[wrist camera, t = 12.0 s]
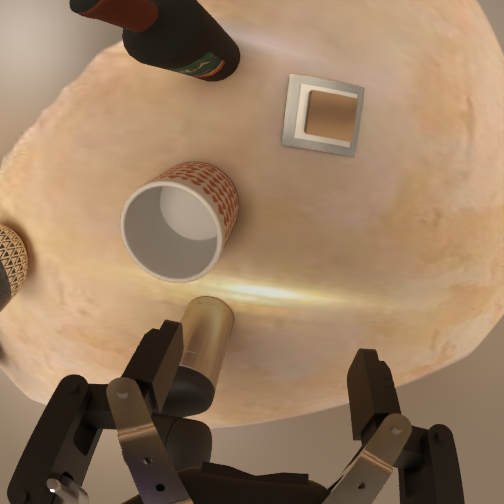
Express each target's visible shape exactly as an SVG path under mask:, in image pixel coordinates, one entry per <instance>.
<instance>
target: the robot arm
mask: <svg viewBox="0 0 504 504" xmlns="http://www.w3.org/2000/svg"><path fill="white" fill-rule="evenodd" d="M233 320H234V318H233V313H232V311H231V310H230V308H229V307H228V306H227V305H226V304H225V303H224V302H222V301H220V300H218V299H216V298H212V297H199V298H196V299H194V300H193V301H192V302H191V303H190V304H189V306H188V308H187V310H186V312H185V314H184V316H183V318H182V320H181V322H175V321H170V320H165V321H164V322H163V324H162V326H161V328H160V330H158V329H154V328H153V329H151V330H150V331H149V332H147V333H146V334H145V335H144V337H143V338H142V340H141V342H140V345H138V347H137V349H136V351H135V353H134V354H133V356H132V358H131V360H130V362H129V364H128V365H127V367H126V369H125V371H124V373H123V374H122V376H121V377H120V378H116V379H114V380H112V381H111V382H110V383H109V384H88V383H87V381H86V379H85V378H84V377H82V376H80V375H75V374H73V375H68V376H66V377H64V378H63V379H62V380H61V381H60V383H59V385H58V386H57V388H56V390H55V392H54V393H53V395H52V397H51V399H50V401H49V403H48V404H47V406H46V408H45V410H44V412H43V414H42V416H41V417H40V419H39V421H38V424H37V425H36V427H35V429H34V431H33V433H32V435H31V437H30V439H29V441H28V443H27V445H26V447H25V450H24V452H23V454H22V456H21V458H20V460H19V463H18V465H17V467H16V470H15V472H14V474H13V476H12V479H11V481H10V483H9V486H8V489H7V496H8V499H9V502H10V504H89V497H88V495H87V493H86V492H85V490H84V489H83V488H81V487H82V483H83V481H84V478H85V475H86V472H87V470H88V467H89V464H90V462H91V459H92V456H93V454H94V451H95V448H96V446H97V443H98V441H99V438H100V435H101V433H102V431H103V429H116V430H117V432H118V440H119V443H120V446H121V449H122V455H123V458H124V461H125V463H126V464H127V466H128V468H129V470H130V472H131V475H132V478H133V480H134V483H135V485H136V487H137V490H138V492H139V494H138V495H137V496H135V497H133V498H131V499H130V500H127V501H126V502H124V503H122V504H372V502H373V501H374V499H375V498H376V497H377V495H378V494H379V492H380V491H381V489H382V488H383V486H384V485H385V483H386V481H387V480H388V478H389V477H390V475H391V474H392V472H393V469H392V467H396V468H398V472H399V490H400V504H465V503H464V495H463V487H462V480H461V474H460V468H459V463H458V457H457V453H456V447H455V443H454V438H453V434H452V432H451V430H450V429H449V428H448V427H447V426H445V425H442V424H436V425H434V426H432V427H431V428H430V429H429V430H428V429H423V428H419V427H415V426H412V425H411V422H410V421H409V420H408V418H406V417H405V416H404V415H402V414H401V411H400V406H399V402H398V398H397V394H396V389H395V388H394V382H393V380H392V379H393V378H392V374H391V370H390V368H389V367H388V366H387V364H386V363H385V362H384V361H379V359H378V355H377V351H376V350H375V349H361V348H360V349H359V350H358V352H357V354H356V356H355V358H354V360H353V362H352V364H351V366H350V368H349V371H348V375H347V387H348V395H349V403H350V412H351V421H352V431H353V440H361V442H362V446H361V447H360V448H359V450H358V451H357V453H356V454H355V455H354V456H353V458H352V459H351V461H350V462H349V463H348V464H347V465H346V467H345V468H344V469H343V470H342V472H341V473H340V474H339V475H338V476H337V478H335V480H334V481H333V482H332V483H331V484H330V485H329V486H328V487H327V488H325V487H324V486H322V485H320V484H318V483H316V482H314V481H311V480H308V474H297V473H276V474H269V475H260V476H254V475H251V474H249V473H246V472H243V471H240V470H238V469H235V468H233V467H230V466H226V465H220V464H214V463H210V457H211V450H212V435H211V431H210V429H209V427H208V426H207V425H206V424H205V423H203V422H200V421H197V420H192V419H186V418H183V417H187V416H191V415H196V414H200V413H203V412H205V411H206V410H208V409H209V407H210V406H211V404H212V402H213V398H214V394H215V390H216V386H217V382H218V378H219V374H220V370H221V367H222V363H223V359H224V355H225V351H226V348H227V344H228V340H229V336H230V333H231V329H232V325H233Z"/></svg>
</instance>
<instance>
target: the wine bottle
mask: <svg viewBox="0 0 504 504" xmlns="http://www.w3.org/2000/svg"><path fill="white" fill-rule="evenodd" d="M70 8H71V10H72V11H73V12H75V13H78V14H79V15H81V16H85V17H88V18H93V19H99V20H101V21H104V22H108V23H110V24H113V25H116V26H120V27H122V28H123V34H122V38H123V43H124V47H125V49H126V50H127V52H128V53H129V55H130V56H132V57H133V58H135V59H136V60H137V61H139V62H140V63H143V64H147V65H151V66H155V67H159V68H163V69H167V70H171V71H175V72H178V73H182V74H185V75H189V76H192V77H196V78H199V79H202V80H205V81H219V80H223V79H225V78H227V77H228V76H230V75H231V74H232V73H233V72H234V71H235V70H236V68H237V66H238V64H239V61H240V52H239V48H238V46H237V45H236V44H235V42H234V41H233V40H232V39H231V37H230V36H229V35H228V34H227V33H226V32H225V31H224V29H223V28H222V27H221V26H220V25H219V24H218V23H217V22H216V21H215V19H214V18H213V17H212V16H211V15H210V14H209V13H208V12H207V11H206V10H205V9H204V8H203V7H202V6H201V5H200V4H199V3H198V1H197V0H70Z"/></svg>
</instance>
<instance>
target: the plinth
mask: <svg viewBox="0 0 504 504" xmlns="http://www.w3.org/2000/svg"><path fill="white" fill-rule="evenodd" d="M311 90H317V91H323V92H329V93H334V94H339V95H344V96H348V97H353V98H357V99H358V103H357V111H356V118H355V124H354V131H353V137H352V142H347V141H342V140H337V139H332V138H326V137H321V136H315V135H309V134H306V133H305V132H304V127H305V119H306V112H307V104H308V96H309V92H310V91H311ZM363 96H364V87H359V86H355V85H351V84H346V83H342V82H337V81H332V80H326V79H321V78H315V77H309V76H303V75H296V74H290V78H289V86H288V95H287V103H286V111H285V119H284V127H283V135H282V143H281V145H285V146H292V147H298V148H305V149H311V150H317V151H322V152H328V153H334V154H339V155H344V156H349V157H354V154H355V148H356V142H357V136H358V130H359V124H360V117H361V110H362V103H363Z"/></svg>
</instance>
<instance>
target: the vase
mask: <svg viewBox="0 0 504 504" xmlns="http://www.w3.org/2000/svg"><path fill="white" fill-rule="evenodd" d="M238 210H239V202H238V196H237V193H236V190H235V188H234V186H233V184H232V182H231V181H230V180H229V178H228V177H227V176H226V175H225V174H224V173H223V172H221V171H220V170H219V169H217V168H216V167H214V166H211V165H209V164H206V163H201V162H187V163H183V164H180V165H178V166H176V167H174V168H172V169H170V170H168V171H167V172H165V173H163V174H161V175H160V176H158V177H156V178H154V179H153V180H151V181H149V182H148V183H146V184H144V185H143V186H141V187H139V188H138V189H137V190H135V191H134V192H133V193H132V194H131V195H130V197H129V198H128V199H127V201H126V203H125V205H124V207H123V210H122V213H121V218H120V231H121V237H122V240H123V243H124V245H125V248H126V250H127V251H128V253H129V255H130V256H131V258H132V259H133V260H134V261H135V263H136V264H137V265H138V266H139V267H141V268H142V269H143V270H144V271H145V272H147V273H148V274H150V275H152V276H154V277H156V278H158V279H161V280H164V281H167V282H173V283H185V282H191V281H194V280H197V279H199V278H201V277H203V276H204V275H206V274H207V273H208V272H210V271H211V270H212V268H213V267H214V266H215V264H216V263H217V261H218V259H219V257H220V255H221V253H222V251H223V248H224V246H225V244H226V242H227V240H228V237H229V235H230V233H231V231H232V229H233V226H234V224H235V222H236V219H237V216H238Z"/></svg>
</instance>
